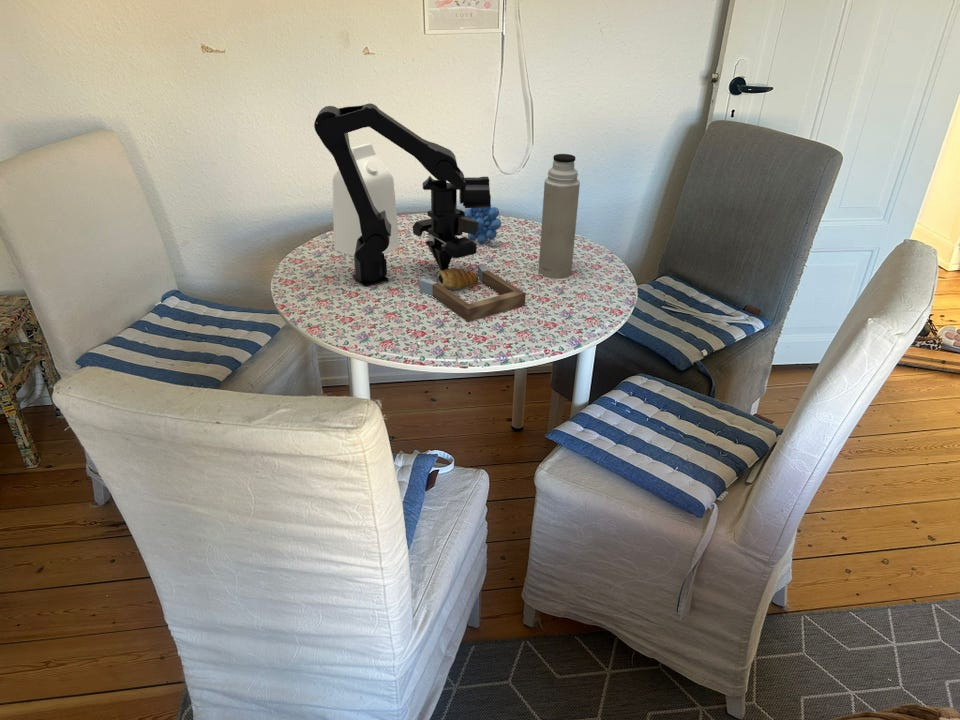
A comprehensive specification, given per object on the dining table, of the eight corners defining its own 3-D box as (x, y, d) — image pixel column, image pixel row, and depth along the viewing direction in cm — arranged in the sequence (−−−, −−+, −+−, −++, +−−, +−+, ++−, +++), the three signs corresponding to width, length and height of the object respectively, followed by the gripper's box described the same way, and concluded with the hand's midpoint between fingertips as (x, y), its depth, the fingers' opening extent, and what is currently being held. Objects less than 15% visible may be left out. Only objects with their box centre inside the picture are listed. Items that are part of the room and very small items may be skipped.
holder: (462, 323, 150) (462, 310, 148) (418, 291, 163) (417, 279, 162) (529, 303, 159) (530, 291, 157) (482, 275, 172) (482, 263, 170)
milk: (367, 236, 192) (361, 137, 179) (399, 247, 186) (395, 145, 173) (334, 249, 184) (325, 146, 170) (366, 261, 178) (359, 155, 165)
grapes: (508, 243, 190) (510, 199, 184) (494, 251, 185) (496, 206, 179) (472, 234, 195) (472, 190, 189) (457, 241, 190) (458, 197, 184)
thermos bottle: (531, 269, 175) (539, 154, 161) (556, 262, 179) (565, 149, 165) (553, 281, 170) (563, 162, 155) (578, 273, 174) (589, 157, 160)
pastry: (472, 276, 171) (472, 261, 169) (482, 288, 166) (482, 272, 164) (434, 281, 168) (434, 266, 166) (443, 293, 163) (443, 278, 161)
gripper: (497, 213, 158) (495, 278, 166) (451, 191, 172) (451, 252, 179) (455, 222, 153) (454, 289, 161) (411, 198, 166) (412, 261, 174)
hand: (443, 272), depth 169 cm, fingers closed
